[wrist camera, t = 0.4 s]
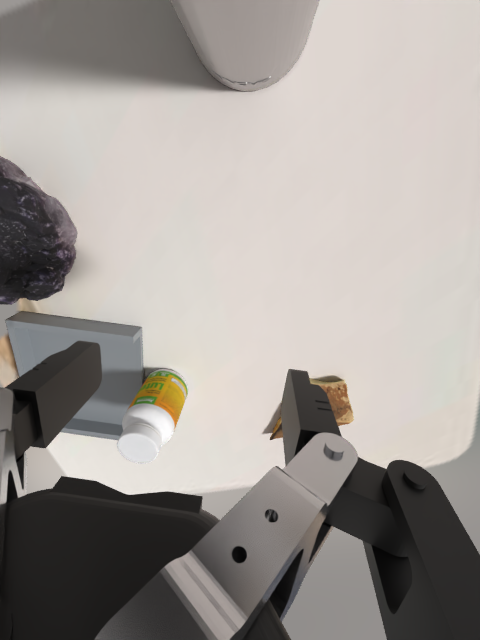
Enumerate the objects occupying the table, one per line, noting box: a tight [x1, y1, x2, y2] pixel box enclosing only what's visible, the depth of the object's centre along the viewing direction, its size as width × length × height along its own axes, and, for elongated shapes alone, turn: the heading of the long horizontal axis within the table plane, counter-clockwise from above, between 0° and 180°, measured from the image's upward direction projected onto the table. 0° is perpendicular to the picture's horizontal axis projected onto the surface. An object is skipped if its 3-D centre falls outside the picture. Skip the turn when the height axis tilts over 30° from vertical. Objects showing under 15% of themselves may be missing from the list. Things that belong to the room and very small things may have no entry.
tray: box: [5, 311, 144, 440], centre depth 36 cm, size 16×14×2 cm
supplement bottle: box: [117, 369, 188, 464], centre depth 32 cm, size 5×5×10 cm
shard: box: [270, 378, 354, 440], centre depth 36 cm, size 11×8×2 cm
